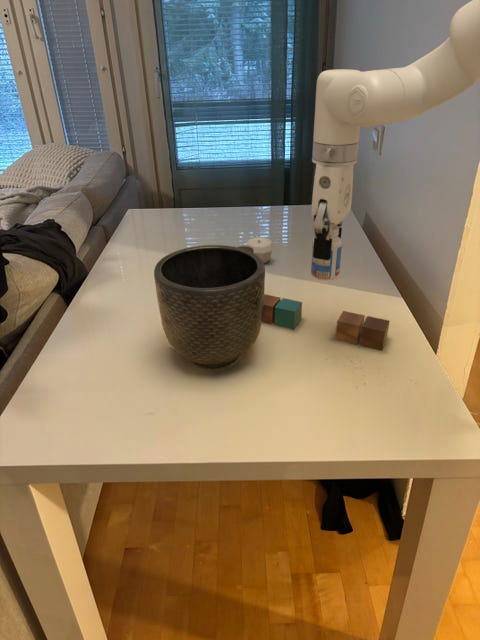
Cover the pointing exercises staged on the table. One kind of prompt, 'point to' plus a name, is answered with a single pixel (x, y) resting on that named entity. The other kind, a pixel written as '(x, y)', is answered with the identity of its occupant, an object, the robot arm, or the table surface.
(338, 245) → the pill bottle
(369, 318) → the block
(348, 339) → the block
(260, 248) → the white pillar candle
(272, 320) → the block
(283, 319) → the block
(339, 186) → the robot arm
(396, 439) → the table surface
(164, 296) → the planter
